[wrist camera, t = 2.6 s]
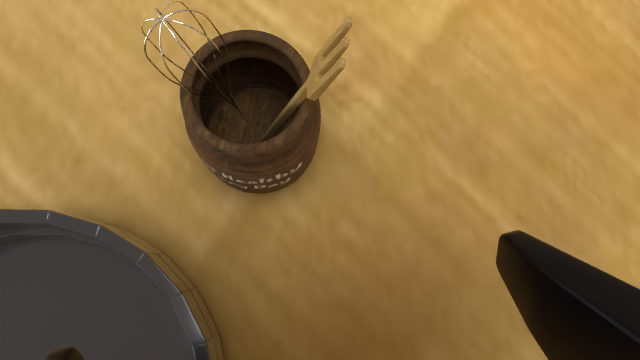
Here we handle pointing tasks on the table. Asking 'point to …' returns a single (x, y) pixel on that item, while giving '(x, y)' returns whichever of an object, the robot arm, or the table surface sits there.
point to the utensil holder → (254, 103)
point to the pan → (94, 293)
